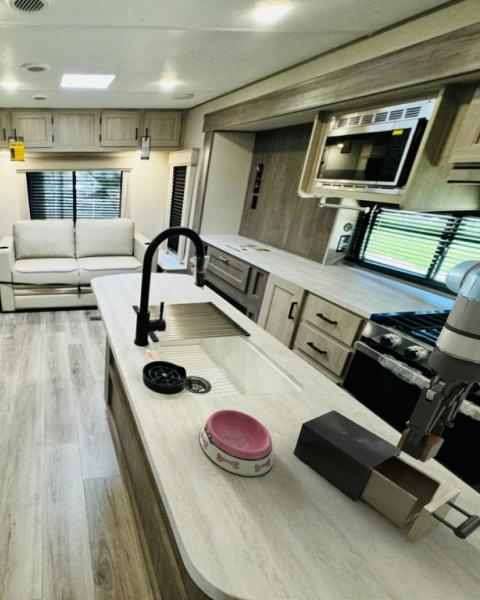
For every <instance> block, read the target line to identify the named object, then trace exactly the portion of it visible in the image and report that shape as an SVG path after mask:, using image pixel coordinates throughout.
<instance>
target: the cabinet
mask: <svg viewBox="0 0 480 600" xmlns="http://www.w3.org/2000/svg"><path fill="white" fill-rule="evenodd" d="M401 454H402V451H401V450H400V449H399V448H398V447H397V445H394V444H392V443H391V442H390V441H388V440H386V439H384V438H383V437H381V436H379V435H378V434H376V433H374V432H372V431H371V430H369V429H368V428H366V427H364V426H362V425H360V424H359V423H357V422H355V421H354V420H352V419H351V418H349V417H347V416H346V415H343V414H341V413H340V412H339V411H337V410H335V409H332V410H330V411H328V412H326V413H323V414H321V415H319V416H316V417H314V418H312V419H309V420H307V421H305V422H302V424H301V428H300V431H299V434H298V437H297V440H296V443H295V447H294V449H293V455H294V456H295V457H296V458H297V459H299V460H300V461H301V462H303V464H305V465H306V466H308V467H309V468H310V469H311V470H313V471H314V473H317V474H318V475H319V476H320V477H322V478H323V479H324V480H326V481H327V482H328V483H329V484H331V485H332V486H333V487H335V488H336V489H337V490H338V491H340V492H341V493H342V494H343V495H345V496H346V497H347V498H348V499H350V500H351V501H352V502H354V503H356V502H358V501H359V500H361V499H362V498H361V497H360V496H359V495H360V492H361V490H362V488H363V486H364V483H365V481H366V479H367V477H368V474H369V472H370V470H371V469H373V468H375V467H376V466H378V465H380V464H382V463H383V462H385V461H387V460H389V459H390V458H392V457H394V456H396V455H397V456H399V457H401Z"/></svg>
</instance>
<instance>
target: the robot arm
mask: <svg viewBox="0 0 480 600" xmlns="http://www.w3.org/2000/svg"><path fill="white" fill-rule="evenodd" d="M444 279H445V280H444V282H445V286H446V287H447V289H449V290H450V291H451V292H453V293H456V294H457V296H456V298H455V301H454V303H453V305H452V308H451V310H450V312H449V313H448V314H449V315H448V316H447V318H446V322H445V324H444V325H443V327H442V329H441V331H440V333H439V335H438V338H437V339H436V342H435V345H436V346H434V347H433V349H432V350H431V353H430V355H429V358H428V360H427V364H428V366H429V367H430V368H431V369H433V370H434V371H435V372H436V373H437V375H436V376H435V375H434V376H432V377H431V379H430V381H429V382H428V383H429V386H428V387H427V386H423V387H422V388H421V391H420V393H419V394H420V395H419V397H418V401H417V403H416V405H415V406H414V409H413V411H412V413H411V415H410V417H409V420H408V421H406V422H405V426H406V428H407V429H409V428H410V430H409V432H408V434H407V436H406V439H405V441H404V443H403V445H402V447H401V449H400V450H401V451H402V452H403V453H404V454H406V455H407V456H409V457H411V458H412V459H414V460H416V461H419V460H418V459H419V458H420V456H421V454H422V452H423V450H424V448H425V446H426V444H427V442H428V440H429V439H430V437H431V435H432V434H434V435H436V436H438V437H440V438H441V436H442V434H443V432H444V431H445V429H446V427H448V428H450V429H452V428H453V427H454V425H455V423H453V422H451V421H453V420H454V419H455V418H456V415H457V414H458V411H460V408H461V406H462V404H463V403H464V400H465V399H466V397H467V395H468V394H469V392H470V390H471V388H472V387H473V385H474V384H480V260H477V259H470V260H464V261H461V262H459V263H457V264H456V265H454V266H453V267H452V268H450V270H449V271H448V272H447V273H446V275H445V278H444ZM431 433H432V434H431ZM402 452H401V453H402Z"/></svg>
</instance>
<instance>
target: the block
mask: <svg viewBox="0 0 480 600" xmlns="http://www.w3.org/2000/svg"><path fill="white" fill-rule="evenodd" d="M409 430H410V428H406V429H404V430H403V432H402V434H401V437H400V438H399V440H398V443H397V444H396V447H398V448H399V449H401V447H402V445H403V443H404V441H405V439H406V436H407V434H408V432H409ZM431 434H432V433H431ZM444 441H445V439H444V438H443V437H441V436H440V437H438V436H436V435H434V434H432V435H431V437H430V439H429V440H428V442H427V444H426V446H425V448H424V450H423V452H422V454H421V456H420V458H419V459H418V460H417V461H420V462H421V463H422V464H423V463H426V462H428V461H430V460H431V459H433V458H434V457H436V456H437V454H438V452H439V450H440V448H441V447H442V445H443V443H444Z"/></svg>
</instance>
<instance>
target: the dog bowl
mask: <svg viewBox="0 0 480 600" xmlns="http://www.w3.org/2000/svg"><path fill="white" fill-rule="evenodd" d="M198 441H199V446H200V448H201V450H202V452H203V454H204V455H205V456H206V457H207V459H209V461H211V462H212V463H213V464H215V465H216V466H217V467H218V468H220V469H221V470H223V471H225V472H228V473H230V474H232V475H235V476H239V477H244V478H258V477H259V478H260V477H262V476H265V475H267V474H268V473H269V472H270V471H271V470H272V468H273V466H274V455H273V454H274V453H273V442H272V436H271V434H270V432H269V430H268V429H267V427H266V426H265V425H264V424H263V423H261V422H260V421H259V420H258V419H256V418H255V417H254V416H251V415H250V414H248V413H245V412H243V411H240V410H235V409H220V410H217V411H215V412H213V413H211V415H210V416H209V417H208V418H207V420H206V421H205V424H204V425H203V427H202V429H201V431H200V433H199V437H198Z"/></svg>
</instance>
